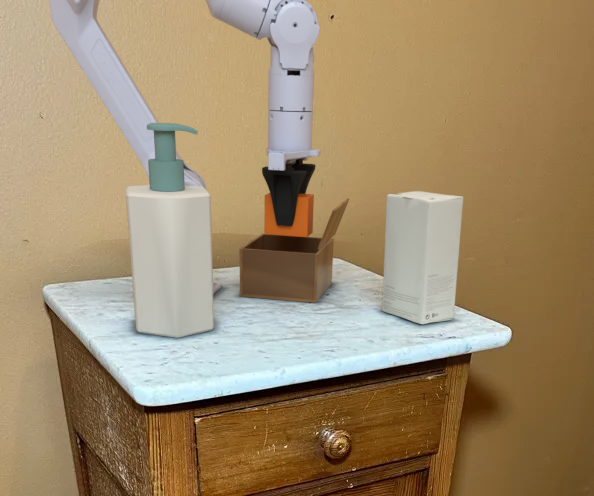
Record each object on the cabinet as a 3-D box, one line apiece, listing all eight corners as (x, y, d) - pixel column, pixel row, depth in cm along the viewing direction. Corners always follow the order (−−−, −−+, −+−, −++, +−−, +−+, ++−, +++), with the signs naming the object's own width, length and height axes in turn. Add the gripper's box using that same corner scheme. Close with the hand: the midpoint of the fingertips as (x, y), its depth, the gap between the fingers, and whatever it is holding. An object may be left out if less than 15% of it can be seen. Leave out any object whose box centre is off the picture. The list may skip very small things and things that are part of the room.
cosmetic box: (454, 320, 99) (469, 196, 92) (418, 326, 96) (432, 199, 89) (411, 305, 105) (422, 188, 98) (376, 310, 102) (386, 190, 95)
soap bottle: (216, 337, 90) (211, 127, 80) (137, 339, 89) (121, 125, 78) (207, 313, 99) (201, 121, 88) (134, 315, 97) (119, 119, 87)
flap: (347, 198, 109) (349, 198, 109) (333, 233, 112) (335, 234, 112) (332, 210, 99) (334, 211, 99) (317, 248, 102) (319, 249, 102)
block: (307, 237, 104) (308, 197, 101) (264, 234, 105) (264, 195, 103) (312, 232, 107) (313, 194, 104) (270, 230, 108) (271, 191, 106)
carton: (261, 277, 117) (261, 233, 114) (331, 283, 115) (333, 238, 112) (239, 296, 107) (239, 248, 104) (316, 303, 105) (318, 254, 102)
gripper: (309, 114, 92) (305, 234, 98) (331, 110, 104) (327, 216, 111) (252, 112, 93) (252, 230, 100) (280, 108, 105) (279, 213, 112)
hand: (288, 223), depth 105 cm, fingers closed on block, 3 cm apart
